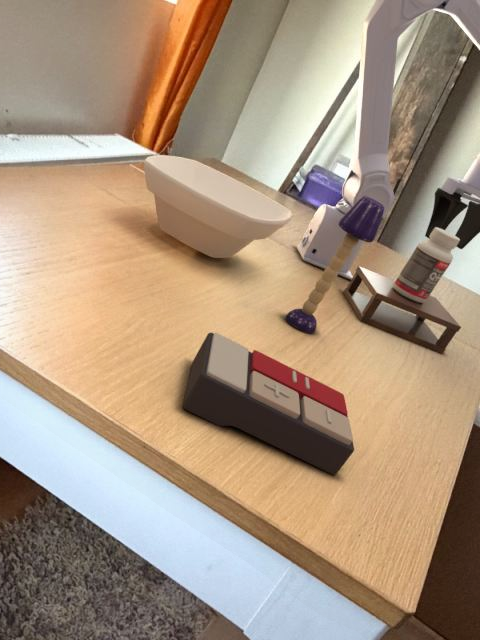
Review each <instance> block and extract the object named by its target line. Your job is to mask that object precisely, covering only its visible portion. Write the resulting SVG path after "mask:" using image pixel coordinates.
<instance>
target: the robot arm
mask: <svg viewBox="0 0 480 640" xmlns="http://www.w3.org/2000/svg"><path fill="white" fill-rule="evenodd" d="M431 11H437V12H440V13H444V14H448V15H449V16H451V18H452V19H453V21H455V23H456V24H457V25H458V26H459V28H461V29H462V31H463V32H464V33H465V34H466V35H467V37H468V38H469V39H470V40H471V42H473V44H474V45H475V47H477V50H479V51H480V0H375V1H374V3H373V5H372V7H371V9H370V10H369V12H368V14H367V16H366V18H365V19H364V21H363V25H362V30H361V43H360V44H361V45H360V57H359V58H360V59H359V63H360V64H359V74H358V75H359V76H358V91H357V105H356V106H357V107H356V120H355V121H356V122H355V136H354V149H353V150H354V151H353V152H354V153H353V155H352V158H351V159H350V161H349V163H348V164H349V165H348V166H349V167H348V173H347V176H346V178H345V180H344V181H343V184H342V188H341V196H342V198H341V199H340V200H339V201H338V202H337V204H336V205H335V206H333V205H329V204H326V203H323V204H321V205H320V206H319V207H318V209H317V210H316V211H315V212H314V214H313V217H312V219H311V220H310V222H309V224H308V226H307V228H306V230H305V232H304V234H303V236H302V237H301V239H300V240H299V243H298V244H297V245H296V249H297V251H298V252H299V254H300V256H301V258H302V260H303V262H306V263H308V264H311V265H313V266H317V267H319V268H321V269H323V270H325V269H326V268H327V267H328V266H329V263H330V260H331V259H332V257H333V256H335V255H336V251H337V249H338V247H339V246H340V245H341V244H342V243H343V239H344V237H345V235H346V234H347V232H345V231H344V230H343V229H341V227H340V226H339V221H340V220H341V219H342V218H343V217H344V215H345V214H346V213H347V212H348V211H349V210H350V209H351V208H352V207H353V206H354V205H355V204H356V203H357V202H358V201H359V200H360V199H361V198H362V197H363V196H368V197H370V198H372V199H374V200H376V201H378V202H380V203H381V204H382V205H384V207H385V208H384V213H383V216H382V218H384V217H385V216H386V215H387V214H389V212H390V210H391V209H392V207H393V205H394V202H395V201H394V200H395V193H394V190H393V188H392V184H391V181H390V179H391V169H390V162H389V156H388V153H389V142H390V132H391V131H390V130H391V122H392V121H391V119H392V110H393V109H392V108H393V97H394V86H395V85H394V84H395V76H396V64H397V53H398V40H399V38H400V37H401V36H402V34H403V33H405V31H406V30H408V28H409V27H410V26H411V25H412V24H413V23H414V22H415V21H416V20H418V19H419V18H420V17H422V16H424V15H426V14H427V13H429V12H431ZM472 195H473V196H472ZM474 196H475V197H474ZM461 198H463V199H465V200H469V201H468V203H467V204H466V203H465V202H463V201H462V199H461ZM464 210H466V212H465V214H464V217H463V219H462V221H461V224H460V226H459V228H458V229H457V230H456V233H455V234H454V235H455V236H456V237H458V238H459V239H460V241H459V243H458V244H457V246H456V247H455V248H458V249H459V250H463V249H464V248H465V247H466V246H467V245H468V244H470V242H472V240H474V239H475V237H476V236H478V235H479V234H480V152H479V153H478V154H477V156H476V157H475V159H474V161H473V162H472V164H471V165H470V168H469V169H468V170H467V172H466V173H465V175H464V177H463V178H462V179H461V178H459V177H458V178H453V177H450V176H447V177H446V179H445V180H444V182H443V183H442V185H441V186H440V187H437V189H436V190H435V191H434V202H433V209H432V213H431V217H430V219H429V223H428V225H427V228H426V231H425V234H424V237H426V238H427V239H428V240H429V239H430V237H429V236H430V234H431V232H432V231H433V230H434V228H435V227H437V228H440V229H443V230H445V231H447V228H448V227H449V225H451V223H452V222H453V221H454V220H455V219H456V218H457V217H458V216H459V215H460V214H461V213H462V212H463V211H464ZM365 244H366V242H365V241H362V240H360V239H359V241H358V243H357V245H356V246H355V247H353V248H352V253H351V255H350V256H349V257H348V258H347V259H346V260H345V264H344V266H343V267H342V269H341V270H339V271H338V276H340V277H342V278H345V279H347V280H350V281H351V280H352V278H353V276H354V275H353V274H352V273H351V271H350V269H351V267H352V266H353V264H354V262H355V260H356V259H357V257H358V255H359V254H360V252H361V250H362V248H363V247H364V245H365Z"/></svg>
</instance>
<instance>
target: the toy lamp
mask: <svg viewBox="0 0 480 640" xmlns="http://www.w3.org/2000/svg"><path fill="white" fill-rule="evenodd" d="M384 208H385V207H384V205H382V204H381V203H380V202H378V201H376V200H374V199H372V198H370V197H368V196H363V197H362V198H361V199H360V200H359V201H358V202H357V203H356V204H355V205H354V206H353V207H352V208H351V209H350V210H349V211H348V212H347V213H346V214H345V215H344V217H343V218H342V219H341V220H340V221H339V226H340V227H341V229H343V230H344V231H345V232H347V234H346V235H345V237H344V239H343V243H342V244H341V245H340V246H339V247H338V249H337V251H336V255H335V256H333V257H332V259H331V260H330V263H329V266H328V267H327V268H326V269H323V272H322V273H321V277H320V278H319V279H318V280H317V281H316V283H315V285H314V287H315V288H313V289H312V290H311V292H310V293H309V295H308V299H306V301H304V303H303V305H302V308H294V309H292V310H290V311H289V312H288V313H287V314H286V315H285V320H286V322H287V323H289V325H291V326H292V327H294V328H295V329H297V330H299V331H302V332H304V333H306V334H307V333H308V334H315V332H316V330H317V325H318V321H317V319H316V317H315V315H313V314H314V313H315V312H316V311H317V309H318V306H319V304H320V303H321V302H323V300H324V298H325V294H326V293H328V291H330V288H331V286H332V283H333V282H334V281H336V279H337V278H338V276H339V275H338V271H339V270H341V269H342V267H343V266H344V264H345V260H346V259H347V258H348V257H349V256H350V255H351V253H352V248H353V247H355V246H356V245H357V243H358V241H359V239H360V240H362V241H365V243H372V242H374V241H375V239H376V236H377V233H378V230H379V228H380V224H381V222H382V218H383V217H382V216H383V213H384Z"/></svg>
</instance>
